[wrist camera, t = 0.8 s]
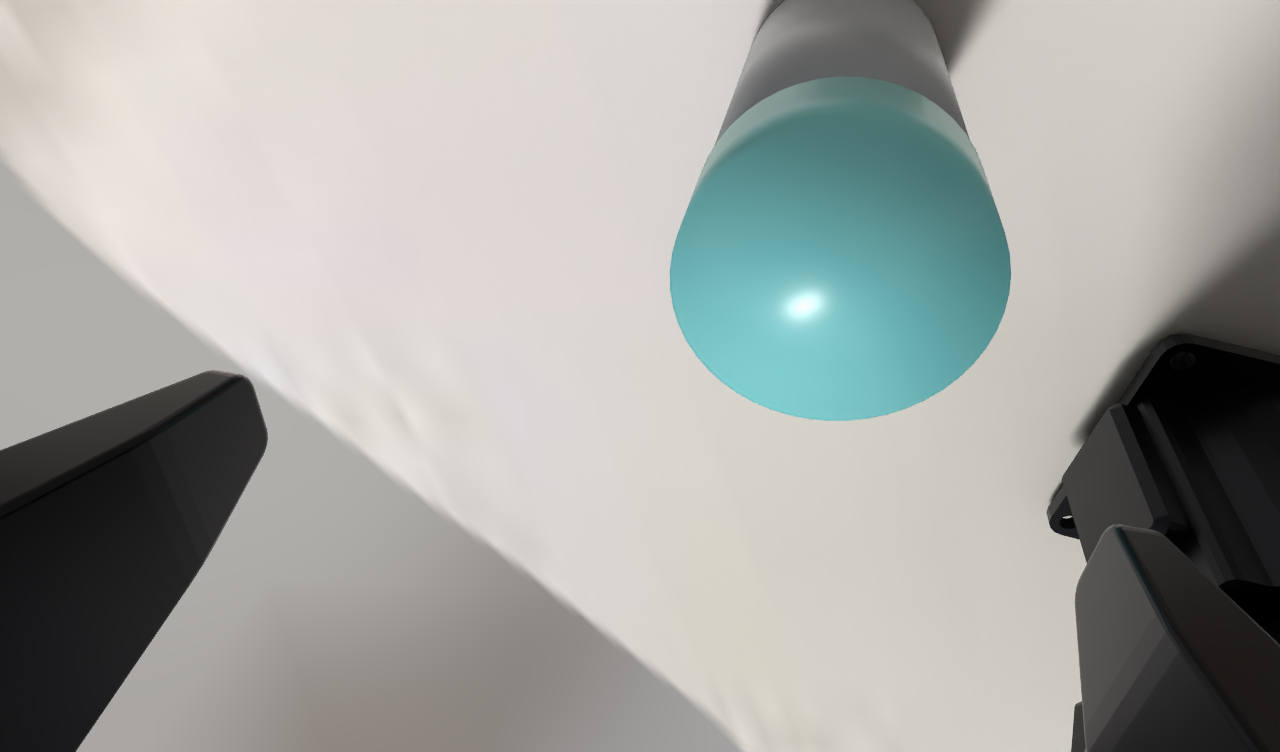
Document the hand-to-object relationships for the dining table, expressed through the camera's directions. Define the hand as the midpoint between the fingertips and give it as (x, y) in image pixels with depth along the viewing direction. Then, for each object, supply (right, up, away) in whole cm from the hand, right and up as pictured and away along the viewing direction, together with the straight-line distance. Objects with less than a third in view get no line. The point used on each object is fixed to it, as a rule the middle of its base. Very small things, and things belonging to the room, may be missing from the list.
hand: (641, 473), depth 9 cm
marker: (+4, +7, +9) cm, 12 cm away
